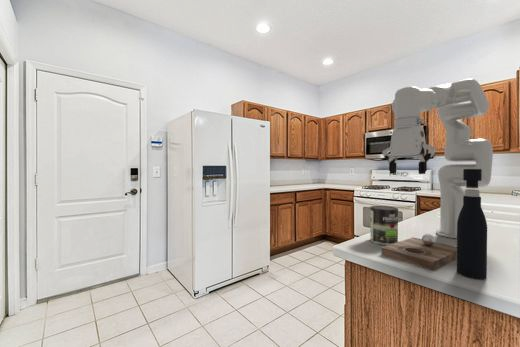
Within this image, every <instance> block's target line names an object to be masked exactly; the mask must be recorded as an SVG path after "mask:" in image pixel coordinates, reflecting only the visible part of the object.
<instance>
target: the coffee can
mask: <svg viewBox="0 0 520 347" xmlns="http://www.w3.org/2000/svg"><path fill="white" fill-rule="evenodd" d="M369 208H370V236H369V237H370V242H372V243H374V244H377V245H382V246H387V245H390V244H394V243H397V242H399V240H398V239H399V238H398V236H399V230H398V229H399V207H395V206H386V205H373V206H370V207H369Z"/></svg>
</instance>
